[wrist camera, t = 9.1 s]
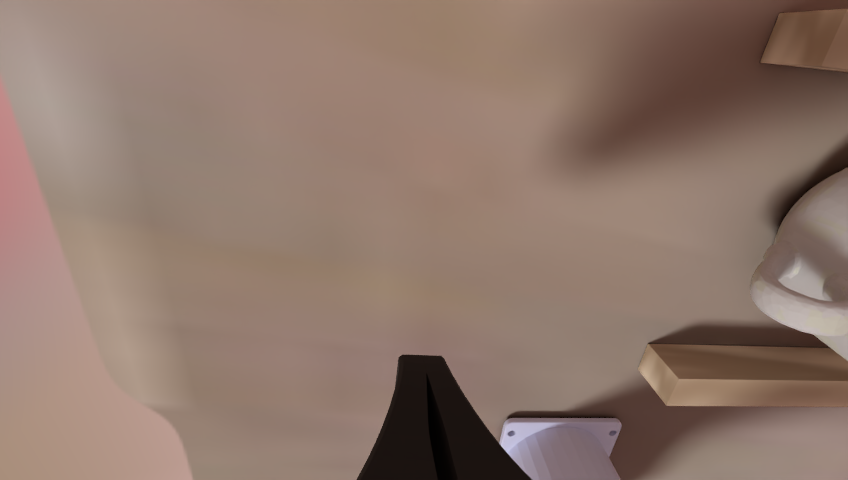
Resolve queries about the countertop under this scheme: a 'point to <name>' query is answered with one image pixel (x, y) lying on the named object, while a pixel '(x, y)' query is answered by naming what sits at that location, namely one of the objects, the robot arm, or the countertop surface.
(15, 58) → the countertop surface
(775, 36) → the wooden bay
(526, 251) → the countertop surface
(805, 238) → the teacup
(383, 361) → the countertop surface
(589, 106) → the countertop surface
